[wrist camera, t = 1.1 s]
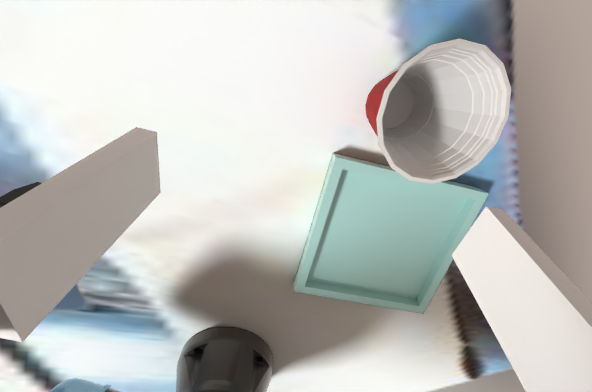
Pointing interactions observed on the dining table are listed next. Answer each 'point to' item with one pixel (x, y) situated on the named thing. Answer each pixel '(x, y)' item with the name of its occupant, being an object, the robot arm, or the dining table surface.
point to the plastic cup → (441, 110)
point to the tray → (383, 235)
